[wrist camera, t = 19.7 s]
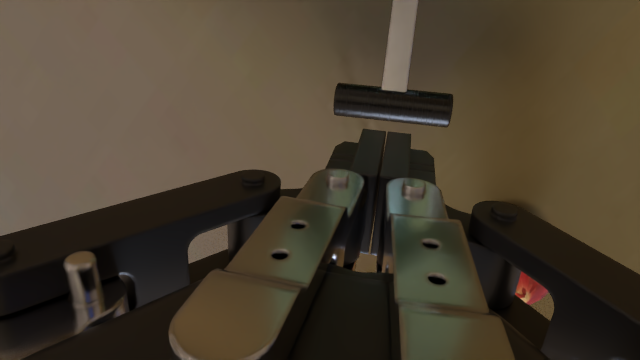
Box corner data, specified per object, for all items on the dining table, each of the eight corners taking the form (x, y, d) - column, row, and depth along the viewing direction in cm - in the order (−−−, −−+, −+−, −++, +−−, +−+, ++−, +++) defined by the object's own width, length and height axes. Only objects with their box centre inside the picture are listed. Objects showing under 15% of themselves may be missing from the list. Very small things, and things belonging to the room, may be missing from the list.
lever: (445, 130, 22) (451, 123, 19) (336, 118, 22) (330, 110, 20) (475, -102, 21) (485, -137, 19) (365, -106, 22) (362, -141, 20)
